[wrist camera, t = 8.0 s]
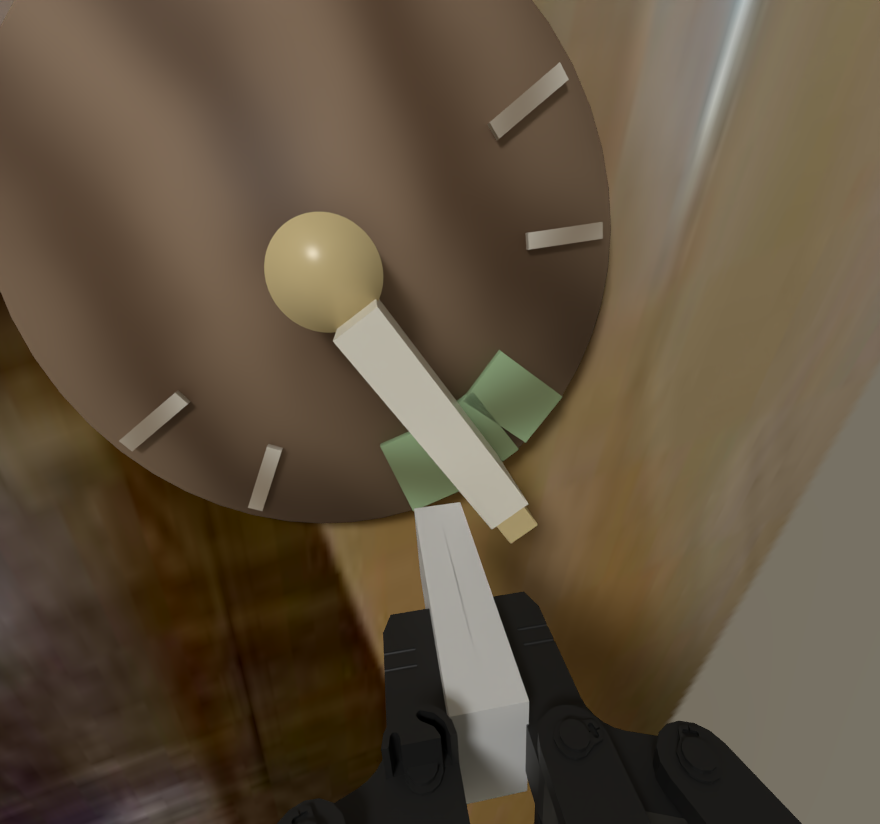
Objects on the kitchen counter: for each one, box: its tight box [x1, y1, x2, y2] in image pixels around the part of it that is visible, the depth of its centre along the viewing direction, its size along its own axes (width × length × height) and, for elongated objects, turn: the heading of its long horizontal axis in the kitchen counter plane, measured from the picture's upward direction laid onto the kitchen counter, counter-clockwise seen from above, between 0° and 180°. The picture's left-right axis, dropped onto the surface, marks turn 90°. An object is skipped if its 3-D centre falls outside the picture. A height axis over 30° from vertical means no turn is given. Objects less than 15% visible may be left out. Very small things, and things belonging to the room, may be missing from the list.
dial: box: [0, 0, 611, 523], centre depth 17 cm, size 22×22×2 cm
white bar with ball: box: [264, 212, 538, 543], centre depth 16 cm, size 13×4×4 cm, turn 36°
